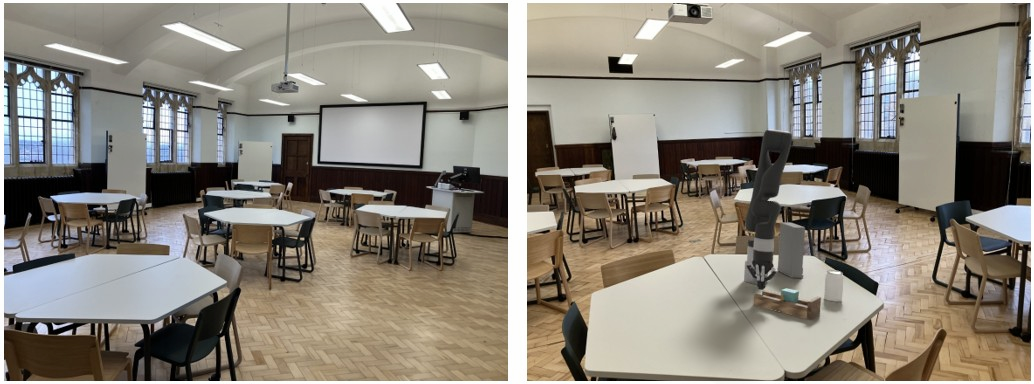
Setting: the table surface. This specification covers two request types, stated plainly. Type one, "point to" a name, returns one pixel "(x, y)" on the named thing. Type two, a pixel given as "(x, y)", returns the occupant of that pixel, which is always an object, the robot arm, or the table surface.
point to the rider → (790, 295)
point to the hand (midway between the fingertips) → (761, 289)
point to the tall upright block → (791, 249)
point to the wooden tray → (788, 305)
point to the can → (833, 286)
